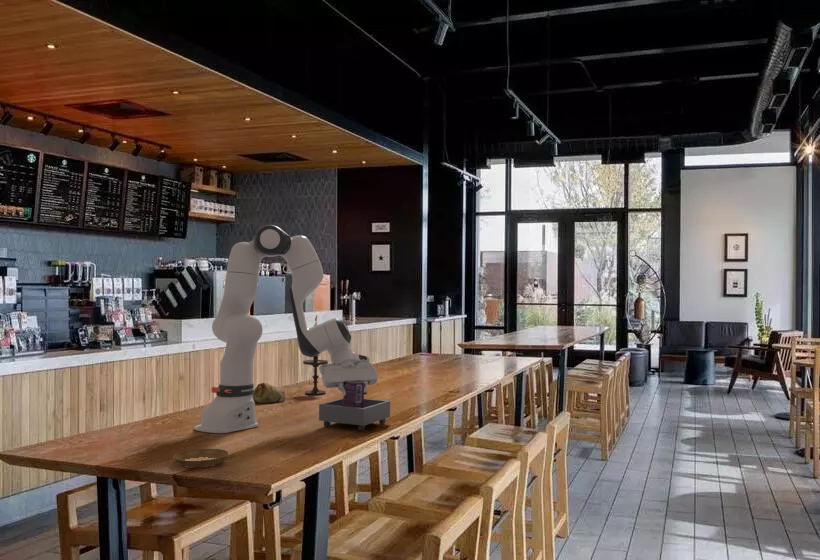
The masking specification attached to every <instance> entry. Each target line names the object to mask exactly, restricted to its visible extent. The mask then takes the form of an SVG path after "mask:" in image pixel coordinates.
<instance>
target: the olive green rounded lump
mask: <svg viewBox="0 0 820 560" xmlns="http://www.w3.org/2000/svg"><path fill="white" fill-rule="evenodd" d="M253 400H254V402H255V403H257V402H258V404H259V403H260V404H271V402H275V403H283V402H284V401H285V400H286V393H285V391H283V390H281V388H280V387H278V386H275V385H273V384H270V383H265V382H261V383H258V384H257V385H256V386H255V387H254V393H253Z"/></svg>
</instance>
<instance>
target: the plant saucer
mask: <svg viewBox="0 0 820 560" xmlns="http://www.w3.org/2000/svg"><path fill="white" fill-rule="evenodd" d="M227 456H229V451H227V450H224V449H222V448H221V449H220V448H195V449H189V450H183V451H180V452H177V453H175V454H174V455H173V459H174V460H175V461H176V462H177V463H178V464H179V465H180V466H182V467H184V466H188V467H204V468H207V467H206V466H211V467H213V466H212V465H215V466H217V465H216V464H218V465H220V464H221V463H223V461H225V460H226V458H227ZM199 457H204V458H205V457H208V458H214V459H211V460H201V461H185V459H190V458H199ZM215 458H216V459H215ZM219 463H220V464H219ZM188 467H187V468H188Z"/></svg>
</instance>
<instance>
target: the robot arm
mask: <svg viewBox="0 0 820 560" xmlns="http://www.w3.org/2000/svg"><path fill="white" fill-rule="evenodd" d="M277 256H279V257H282V258H283V259H284V260H285V262H286V263H287V267H288V268H289V271H290V274H291V281H292V282H291V285H290V287H289V288H288V297H289V302H290V308H291V312H292V317H293V323H294V326H295V331H296V341H297V347H298V350H299V351H300V353H301V354H302V355H303V356H306V357H308V358H313V357H314V356H316V355H321V353H323V352H326V351H327V352H328V354H329V356H330V361H331V363H328V364H323V365H320V366H319V367H318V370H319V374H321V380H322V384H323V386H324V387H325V388H326V389H330V388H337V389H338V390H339V391H340V392H341V393H342V395H344V396H345V395H346V392H345V389H344V385H345V383H346V382H345V381H348V382H351V381H358V380H360V381H363V385H364V396H365V395H368V393H369V392H368V386H373V385H376V383H377V381H378V379H379V374H378V372H377V369H376V368H375V366H374V365H373V364H372V362H370V361H371V358H370V357H369V356H368V355H363V354H360V353H356V352H355V351H354V350H353V348H352V343H351V341H352V336H351V333H350V330H349V327H348V325H347V323H346V321H345V320H343V319H341V318H338V317H334V318H330V319H328V320H326V321H324V322H321V323H319V324H317V326H314V325H313V326H312V327H308V324H307V321H306V317H305V313H304V312H305V311H304V303H305V300H306V299H307V297H309V295H311V294H312V293H313V292H314V291H315V290H316V289H317V288H318V287H319V286H320V284H321V283H322V281H323V279H324V270H323V265H322V263H321V260H320V258H319V256H318V254H317V252H316V250H315V247H314V245H313V244H312V242H311V241H310V239H309V238H308V237H307V236H305V235H302V234H300V235H294V236H292V237H291V236H290V235H289V234H288V233H287V232H285V231H284V230H283V229H282V228H280V227H279V226H277V225H274V224H265V225H263V226H261V227H260V228H258V230H256V232H255V235H254V238H253V239H252V240H251V241H239V242H237V243H235V244H234V245H233V246H232V247H231V251H230V253H229V257H228V260H227V261H228V262H227V267H226V274H225V275H226V276H225V281H224V282H225V283H224V290H223V291H224V292H223V296H222V300H221V302H220V306H219V310H218V312H217V315H216V316H215V317H214V320H213V322H212V325H211V331H212V332H213V335H214V336H215V337H216V338H217V339H218V340H220V341H221V342H223V343H225V344H226V345H225V350H224V354H223V356H222V358H221V360H220V365H219V366H220V367H219V368H220V369H219V374H220V375H219V385H218V386H217V387H216V386H212V387H211V390H210V392H211V393H212V394H214V393H215V395H216V396H215V397H214V398H213V400H211V402H210V403H209V404H208V405H207V406H206V407H205V408H204V409H203V410H202V413H201V420H200V421H201V422H200V423H199V424H197V425H194V426H193V430H194V431H198V432H203V433H210V434H212V433H213V434H227V433H231V432H232V433H233V432H237V431H242V430H248V429H252V428H253V429H254V428H257V427H259V422H258V421H257V414H256V413H257V412H256V402H254V400H253V393H254V390H255V384H254V383H253V375H254V374H253V372H254V371H253V370H254V369H253V368H254V367H253V365H254V357H255V352H256V348H257V344H258V343H259V340H261V338H262V335H263V325H262V323H261V321H260V320H259V319H258V318H256V317H255V316H254V315H251V314H250V313H249V312H250V310H251V307H252V305H253V302H254V301H255V300H256V297H257V294H258V293H257V292H258V282H259V276H260V275H259V272H260V267H261V262H262V260H265V259H271V258H276V257H277Z"/></svg>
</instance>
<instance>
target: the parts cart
mask: <svg viewBox="0 0 820 560" xmlns="http://www.w3.org/2000/svg"><path fill="white" fill-rule="evenodd" d="M388 418H391V400H383V399H372V398H364V403H363V408H356V407H346V406H343V397H342V398H338V399H335V400H330V401H327V402H322V403H319V404H318V421H321V422H323V427H324V428H330V426H331V423H336V424H337V423H338V424H343V425H345V424H347V425H354V426H358V429H357V430H358V432H364V431H365V430H366V426H367V425H370V424H373V423H376V422H379V424H380V425H385V424H386V419H388Z"/></svg>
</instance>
